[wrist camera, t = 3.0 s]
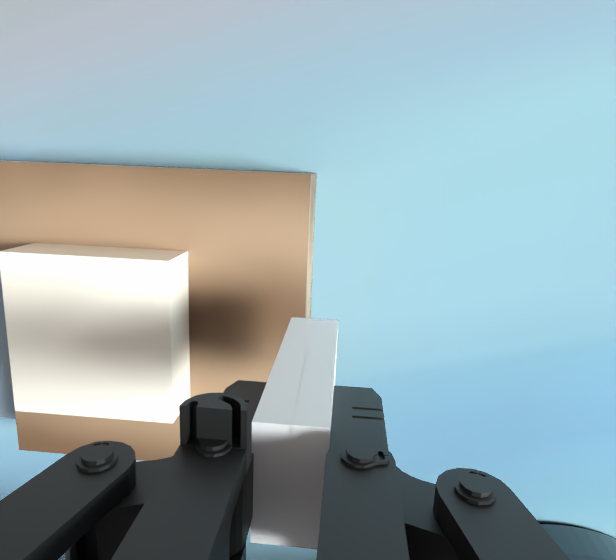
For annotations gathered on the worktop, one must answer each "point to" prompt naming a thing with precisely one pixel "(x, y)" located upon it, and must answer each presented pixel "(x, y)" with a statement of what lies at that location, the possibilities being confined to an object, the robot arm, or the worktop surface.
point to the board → (201, 267)
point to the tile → (97, 330)
